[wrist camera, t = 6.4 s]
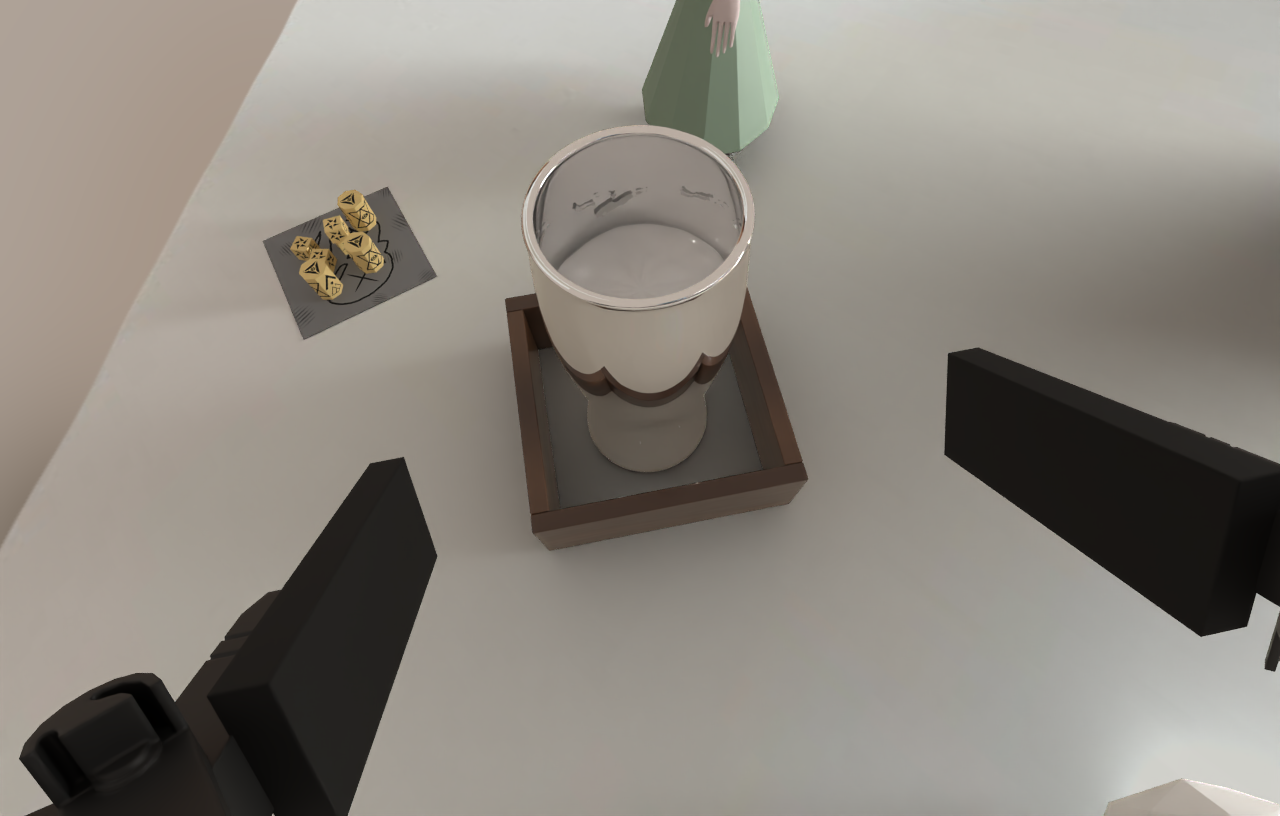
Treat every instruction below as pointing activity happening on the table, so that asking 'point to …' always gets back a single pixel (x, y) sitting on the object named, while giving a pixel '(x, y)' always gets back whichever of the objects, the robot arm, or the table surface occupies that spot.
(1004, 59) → the table surface
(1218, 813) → the geometric ball
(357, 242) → the dice set
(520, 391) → the tray
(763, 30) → the character figurine
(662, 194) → the beer glass
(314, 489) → the table surface
